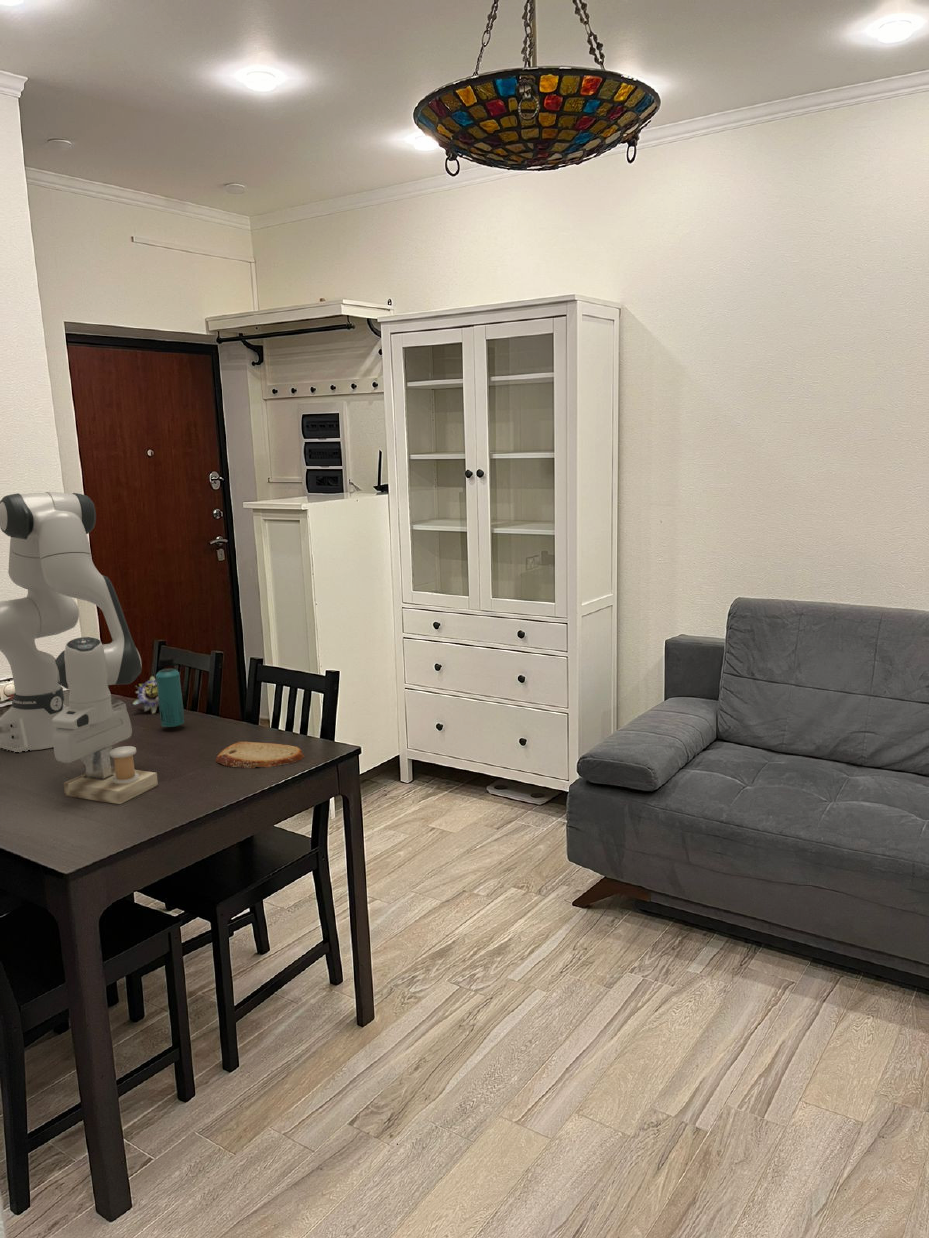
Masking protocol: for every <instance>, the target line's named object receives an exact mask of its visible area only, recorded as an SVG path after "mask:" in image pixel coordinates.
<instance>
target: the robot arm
mask: <svg viewBox="0 0 929 1238" xmlns="http://www.w3.org/2000/svg"><path fill="white" fill-rule="evenodd" d="M96 521H97V513H96V506H95V504H94V502H93V501H92V499H91V498H90V497H89V496H88V495H86V494H82V493H76V492H73V493H66V492H57V491H46V492H35V493H34V492H32V493H30V492H29V493H24V494H23V493H22V494H20V493H12V494H8V495H5V496H3V497H2V499H1V500H0V530H1V532H2V533H4V534H5V535H6V536H8V537H10V540H9V554H8V569H7V570H8V571H7V573H8V575H9V578H10V580H11V581H12V582H13V584H15V585H16V586H18V587H20V588H23V589H24V590H27V596H26V597H22V598H15V599H8V600H3V601H0V652H1V653H2V654H3V655H4V657H5V658H6V661H8V664H9V666H10V670H11V674H12V679H13V685H14V693H12V694H9V695H8V697H9V698H8V700H12V701H11V706H10V707H9V709H8V710H7V711H6V712H4V714H3V713H2V715H1V716H0V747H2V748H4V749H9V750H12V751H14V752H13V753H15V752H19V753H23V752H22V751H25V752H29V751H28V750H30V751H37V750H44V749H51V748H53V753H54V757H55V760H56V761H58V763H63V764H71V763H74V762H76V761H77V760H80V761H81V762H82V763H83V764H84V766H85V773H86V772H87V773H92V772H94V771H96V770H97V768H96V764H95V763H92V761H91V760H90V759H91V758H92V753H95V752H97V751H98V750H101V749H103V748H109V752H110V750H112V749H113V745H116V744H119V743H121V742H123V741H125V740H128V739H130V738H131V737H132V733H133V729H132V723H131V719H130V715H129V713H128V711H127V709H128V708H127V703H125V702H124V701H122V700H119V699H118V700H116V701H113V702H112V694H111V691H110V688H109V686H111V685H115V686H119V685H121V686H122V685H130V684H132V683H133V682H134V681H135V680H136V679H137V678H138V677H139V676H140V675H141V674H142V658H141V655H140V652H139V651H138V648H137V647H136V645H135V642H134V640H133V637H132V633H131V632H130V629H129V626H128V623H127V621H126V618H125V615H124V611H123V609H122V605H121V603H120V601H119V598H118V595H117V592H116V589H115V587H114V585H113V583H112V581H111V580H110V578H109V577H108V576H107V575H106V576H105V575H103V574H101V573H100V572H99V570H98V569H97V567H96V566H95V564H94V562H93V559H92V557H93V556H92V552H91V548H90V547H91V546H90V543H89V538H88V535H89V534H90V533H91V532H92V531H93V529H94V528H95V526H96V523H97V522H96ZM75 599H77V600H82V601H87V602H88V603H91V604H92V605H95V606H97V607H98V608H99V609H100V610H101V611H102V613H103V617H104V619H105V622H106V625H107V628H108V631H109V633H110V636H111V639H112V641H111V642H110V643H105V644H104V643H102V641H101V640H100V639H98V638H95V637H89V636H84V637H83V636H81V637H78V638H73V639H71V640H70V641H68V642H66V644H65V648H64V650H63V651H61V652H60V653H59V655H57V657H56V658H55V656H54V655H52V654H50V653H48V652H45V651H42V650H40V649H38V648H37V645H36V642H35V641H36V639H40V638H46V637H51V636H56V635H59V634H62V633H64V632H67V631H69V630H72V629H74V628H75V627H76V626H77V624H78V621H79V617H80V609H79V606H78V604H77V602H76V600H75ZM64 689H66V690H69V696H68V705H65V703H64V701H65V691H64ZM4 749H3V750H4ZM109 756H110V753H109Z"/></svg>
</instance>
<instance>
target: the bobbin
mask: <svg viewBox="0 0 929 1238" xmlns="http://www.w3.org/2000/svg"><path fill="white" fill-rule="evenodd" d="M109 753H110V758H113V762H114V767H115V772H116V775H115V776H114V777H113V778H112V780H113V783H114V784H119V785H122V784H129V783H133V782H135V781H137V780H138V779H139V774H138V773H135V771H134V770H135V763H134V755H135V754H136V753H137V748H136V747H135V746H132V745H127V746H125V745H124V746H118V747H115V748H112V750H110V752H109Z"/></svg>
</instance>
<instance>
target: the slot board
mask: <svg viewBox="0 0 929 1238" xmlns="http://www.w3.org/2000/svg"><path fill="white" fill-rule="evenodd" d="M134 771H135V773H138V774H139V779H138V780H137V781H135V782H133V783H129V784H122V785H119V784H114V783H113V780H112V778H113V777H114V776H115V775H116V772H115V766H111V773H112V776H111V777H109V778H107V779H105V780H97V779H90V778H87V775H86V772H85V773H83V774H80V775H78V776H76V777H74V778H71V779H69V780H66V781H64V782H63V790H64V796H66V797H73V798H77V797H78V798H79V799H85V800H90V801H96V802H97V801H98V802H104V803H108V804H109V803H110V804H116V805H121V804H124V803H126V802H128V801H130V800H132V799H133V798H135V797H137V796H139V795H141V794H144V793H145V792H147V791H149V790H151V789H153V788H155V787H158V786H159V784H158V773H157V772H153V771H145V770H139V769H134Z"/></svg>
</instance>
